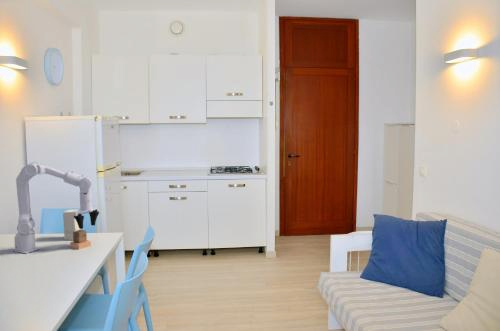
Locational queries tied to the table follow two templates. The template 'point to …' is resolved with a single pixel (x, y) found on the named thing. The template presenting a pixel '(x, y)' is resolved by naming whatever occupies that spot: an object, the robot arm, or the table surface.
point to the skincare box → (69, 224)
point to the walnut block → (79, 236)
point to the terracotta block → (80, 244)
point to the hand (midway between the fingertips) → (87, 226)
